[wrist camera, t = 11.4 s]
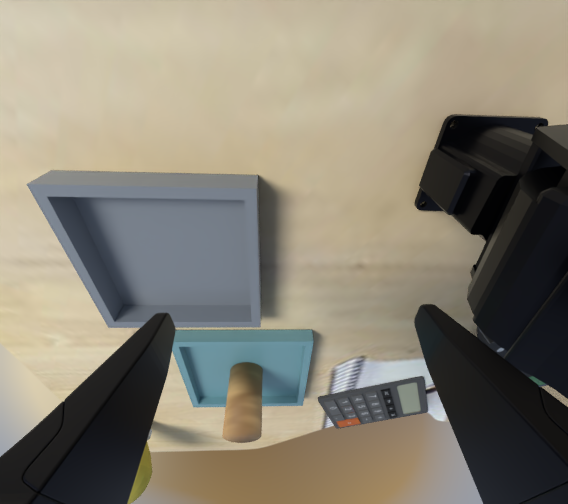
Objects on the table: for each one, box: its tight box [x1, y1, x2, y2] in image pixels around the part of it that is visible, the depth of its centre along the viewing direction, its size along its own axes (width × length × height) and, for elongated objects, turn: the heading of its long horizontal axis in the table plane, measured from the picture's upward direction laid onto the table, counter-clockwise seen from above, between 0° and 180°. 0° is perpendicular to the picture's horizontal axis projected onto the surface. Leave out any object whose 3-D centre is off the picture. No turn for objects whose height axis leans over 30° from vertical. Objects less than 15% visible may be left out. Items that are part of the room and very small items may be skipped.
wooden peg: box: [222, 362, 263, 443], centre depth 31 cm, size 4×4×7 cm
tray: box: [172, 330, 313, 407], centre depth 33 cm, size 15×15×2 cm
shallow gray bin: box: [27, 170, 261, 328], centre depth 22 cm, size 14×14×2 cm
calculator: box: [318, 376, 428, 428], centre depth 42 cm, size 12×1×15 cm
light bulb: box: [128, 429, 152, 504], centre depth 39 cm, size 7×7×10 cm
